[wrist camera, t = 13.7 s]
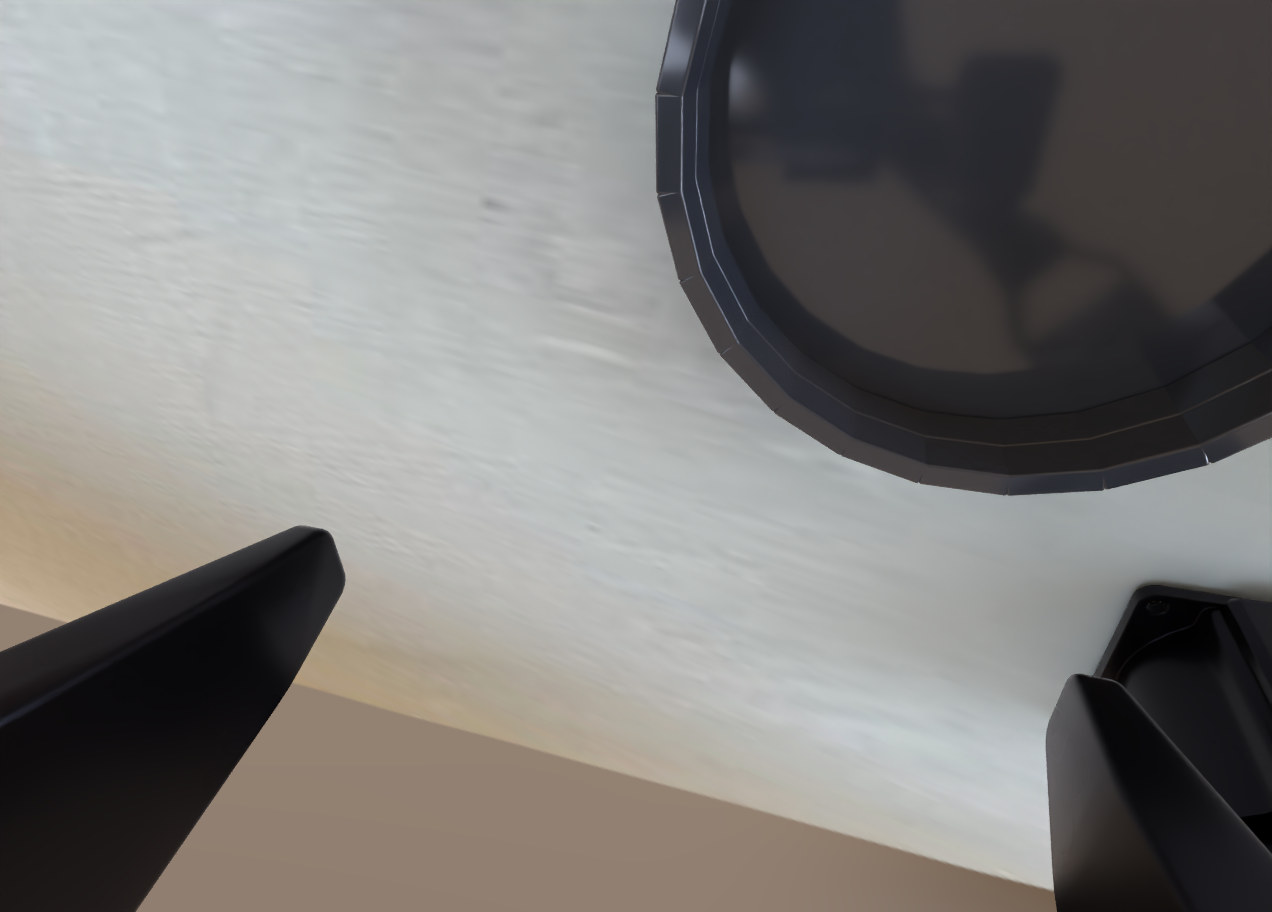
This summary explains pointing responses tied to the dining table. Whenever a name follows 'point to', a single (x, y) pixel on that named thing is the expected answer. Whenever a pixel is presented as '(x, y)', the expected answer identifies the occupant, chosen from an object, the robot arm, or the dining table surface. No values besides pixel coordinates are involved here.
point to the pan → (982, 227)
